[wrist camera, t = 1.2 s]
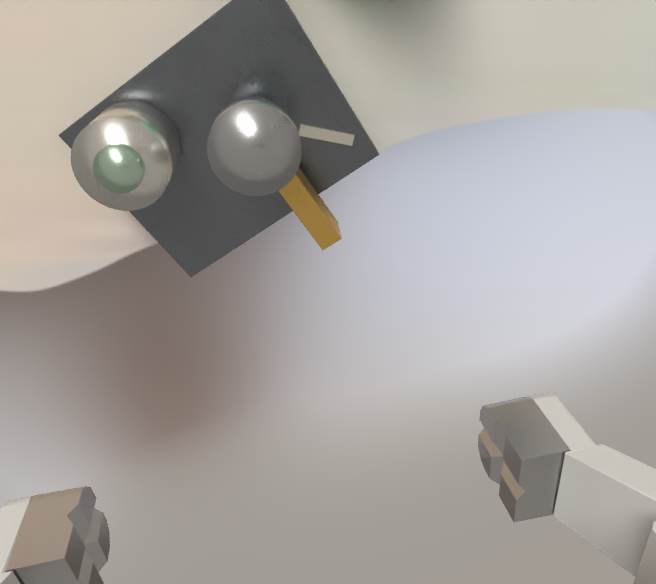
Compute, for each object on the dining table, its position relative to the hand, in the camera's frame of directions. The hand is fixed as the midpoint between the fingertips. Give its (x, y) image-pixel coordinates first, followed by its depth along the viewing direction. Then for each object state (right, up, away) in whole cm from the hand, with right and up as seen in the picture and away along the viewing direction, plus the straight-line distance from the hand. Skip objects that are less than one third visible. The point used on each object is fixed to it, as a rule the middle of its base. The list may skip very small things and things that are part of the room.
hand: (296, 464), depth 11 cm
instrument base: (-7, +15, +30) cm, 34 cm away
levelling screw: (-3, +13, +29) cm, 32 cm away
